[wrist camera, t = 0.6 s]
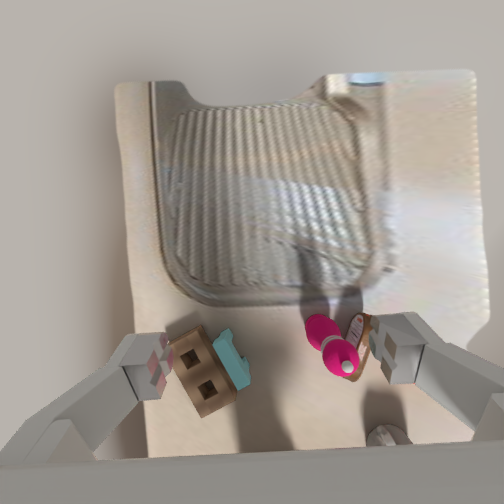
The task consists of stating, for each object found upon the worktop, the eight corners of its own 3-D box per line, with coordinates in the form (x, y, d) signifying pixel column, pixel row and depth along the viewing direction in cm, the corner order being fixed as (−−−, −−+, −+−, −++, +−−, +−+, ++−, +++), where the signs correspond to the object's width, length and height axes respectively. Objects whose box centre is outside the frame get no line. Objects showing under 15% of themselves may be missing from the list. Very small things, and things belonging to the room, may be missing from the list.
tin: (344, 370, 57) (359, 391, 49) (332, 365, 57) (344, 386, 49) (365, 311, 57) (384, 322, 48) (353, 306, 57) (369, 317, 49)
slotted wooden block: (237, 389, 58) (235, 400, 54) (205, 406, 58) (201, 418, 55) (201, 324, 58) (196, 330, 54) (169, 342, 58) (162, 349, 54)
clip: (251, 365, 58) (250, 384, 50) (241, 371, 58) (238, 390, 50) (229, 325, 58) (224, 338, 50) (218, 331, 58) (212, 345, 50)
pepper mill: (296, 325, 57) (316, 366, 37) (319, 305, 57) (352, 337, 37) (316, 348, 57) (347, 401, 37) (339, 328, 57) (382, 372, 37)
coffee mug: (413, 459, 57) (446, 504, 47) (372, 469, 57) (396, 516, 47) (398, 405, 57) (427, 439, 47) (357, 416, 57) (378, 452, 47)
